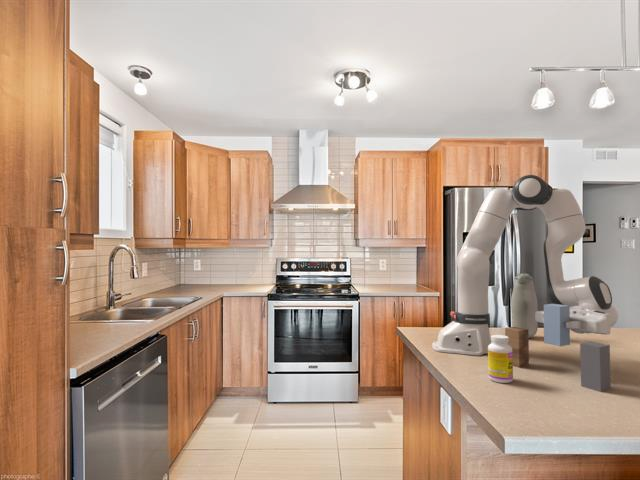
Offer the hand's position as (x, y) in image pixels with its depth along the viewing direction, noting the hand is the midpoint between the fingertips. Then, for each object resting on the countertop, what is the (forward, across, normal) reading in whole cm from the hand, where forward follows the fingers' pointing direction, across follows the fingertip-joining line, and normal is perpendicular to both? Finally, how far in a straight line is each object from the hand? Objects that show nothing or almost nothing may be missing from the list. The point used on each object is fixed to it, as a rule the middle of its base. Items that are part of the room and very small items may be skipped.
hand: (554, 322), depth 119 cm
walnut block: (+2, -12, +16) cm, 20 cm away
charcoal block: (+2, +12, +16) cm, 20 cm away
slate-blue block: (-1, 0, +7) cm, 7 cm away
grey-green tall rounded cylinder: (-36, -35, +16) cm, 53 cm away
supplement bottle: (+20, -4, +16) cm, 26 cm away
